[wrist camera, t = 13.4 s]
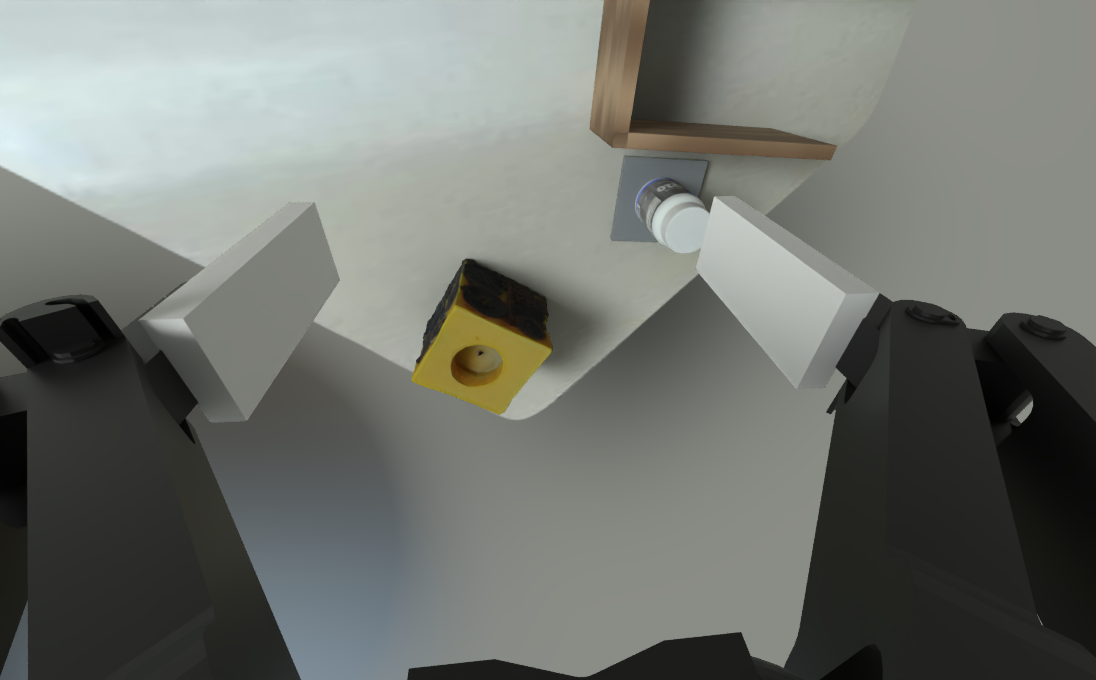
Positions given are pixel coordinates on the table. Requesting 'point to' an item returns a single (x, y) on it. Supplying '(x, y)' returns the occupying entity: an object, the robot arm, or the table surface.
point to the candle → (484, 339)
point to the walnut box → (617, 129)
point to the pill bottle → (672, 214)
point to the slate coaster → (639, 174)
